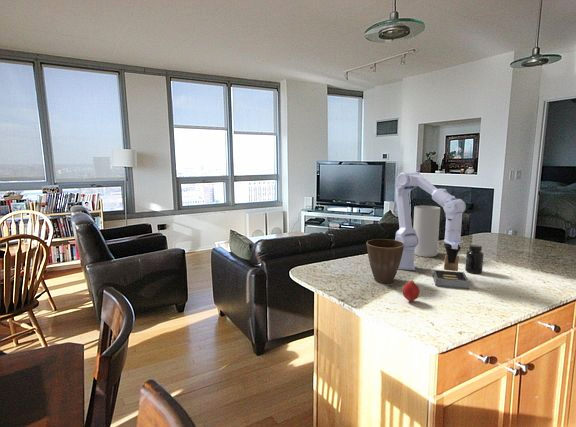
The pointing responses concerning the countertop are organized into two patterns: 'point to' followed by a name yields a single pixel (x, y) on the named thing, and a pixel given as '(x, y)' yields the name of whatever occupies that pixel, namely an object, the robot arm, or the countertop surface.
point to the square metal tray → (450, 279)
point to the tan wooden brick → (451, 264)
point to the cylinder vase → (426, 230)
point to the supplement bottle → (474, 259)
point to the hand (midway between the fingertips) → (450, 262)
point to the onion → (410, 291)
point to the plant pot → (384, 258)
